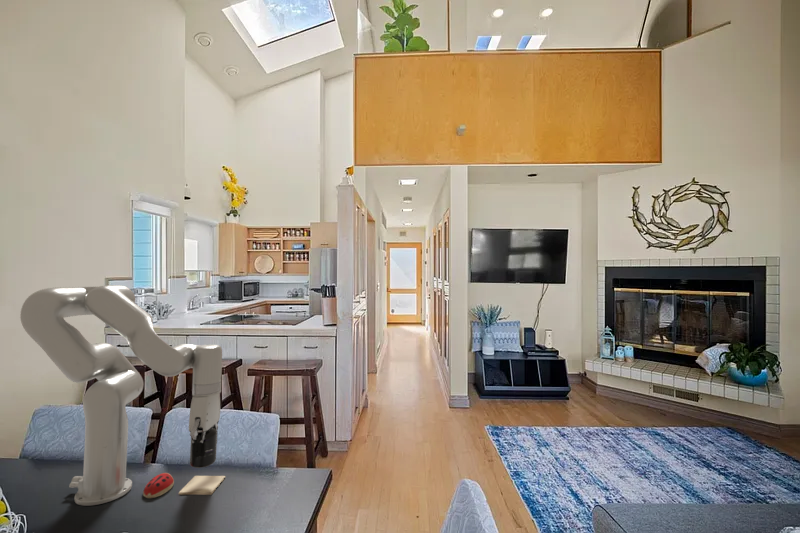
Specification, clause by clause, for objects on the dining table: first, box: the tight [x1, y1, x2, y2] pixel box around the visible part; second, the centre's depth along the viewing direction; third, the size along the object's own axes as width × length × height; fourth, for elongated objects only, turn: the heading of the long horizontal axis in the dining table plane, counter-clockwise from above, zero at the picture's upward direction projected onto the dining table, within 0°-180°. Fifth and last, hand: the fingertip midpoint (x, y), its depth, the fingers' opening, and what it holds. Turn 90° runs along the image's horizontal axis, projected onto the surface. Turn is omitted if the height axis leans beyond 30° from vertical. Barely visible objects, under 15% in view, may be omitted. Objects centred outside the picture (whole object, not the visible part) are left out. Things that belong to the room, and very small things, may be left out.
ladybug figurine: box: [142, 472, 175, 499], centre depth 108 cm, size 7×10×4 cm
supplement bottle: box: [189, 425, 218, 469], centre depth 111 cm, size 7×7×12 cm
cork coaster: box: [178, 475, 226, 496], centre depth 111 cm, size 9×9×1 cm
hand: (205, 449), depth 111 cm, fingers closed on supplement bottle, 6 cm apart
